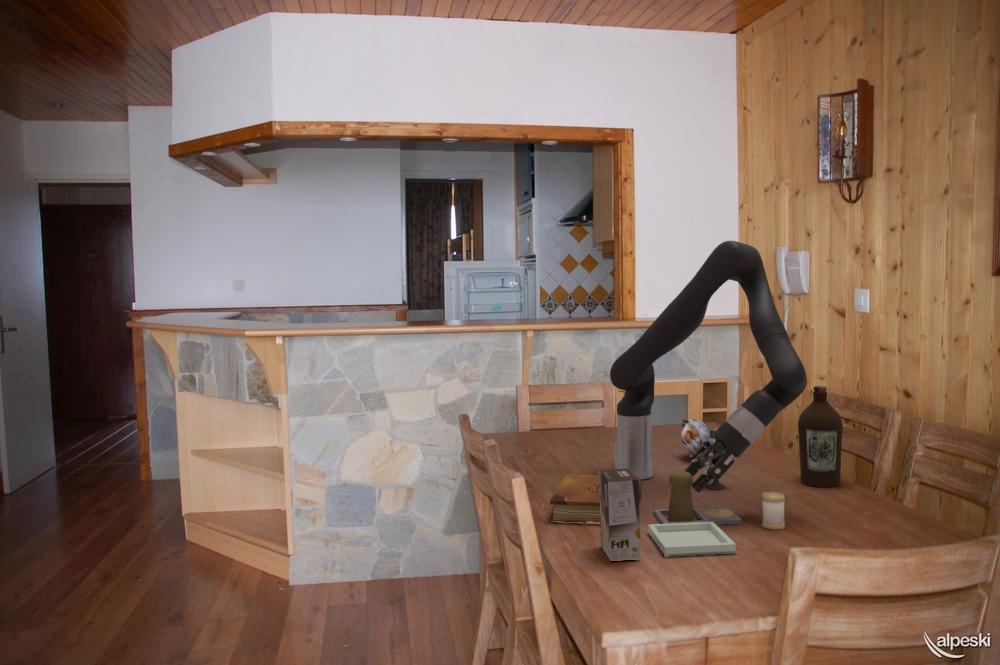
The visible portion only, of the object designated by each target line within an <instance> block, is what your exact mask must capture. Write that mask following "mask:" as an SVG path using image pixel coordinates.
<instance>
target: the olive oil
mask: <svg viewBox="0 0 1000 665" xmlns="http://www.w3.org/2000/svg"><path fill="white" fill-rule="evenodd" d="M827 389H828V388H827V386H823V385H816V386H815V385H814V386H813V392H812V402H811V403H810V404H809V405H807V406H806V408H804V410H803V411H801V414H800V415H799V417H798V421H797V429H798V445H799V447H798V448H799V449H798V450H799V467H800V468H799V470H800V473H799V474H800V483H802V484H804V485H805V484H806V485H805V486H809V485H810V486H809V487H814V486H816V487H815V488H835V487H834V486H836V487H839V486H840V485H841V469H842V468H841V467H842V464H841V463H842V444H843V430H844V429H843V428H844V424H843V420H842V417H841V415H840V413H838V411H837V410H836V409H835V408H834V407H833V406H832V405H831V404H830V403H829V402H828V391H827Z"/></svg>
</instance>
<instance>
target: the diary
mask: <svg viewBox="0 0 1000 665" xmlns="http://www.w3.org/2000/svg"><path fill="white" fill-rule="evenodd" d="M637 478H638V477H637ZM638 479H639V478H638ZM641 499H642V479H639V504H641V503H640V502H641ZM549 505H552V507H553V516H552V517H551V519H550V522H551V521H561V522H563V521H564V522H583V523H586V521H593V522H600V495H599V474H598V475H597V474H596V475H591V474H590V475H589V474H565V476H564V478H563V479H562V481H561V483H559V485H558V487H557V489H556V490H555V492H554V494H553V495H552V497H551V498H550V500H549Z"/></svg>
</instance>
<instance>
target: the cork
mask: <svg viewBox="0 0 1000 665" xmlns="http://www.w3.org/2000/svg"><path fill="white" fill-rule="evenodd" d="M693 480H694V477H692V475H691V474H690V473H689V472H686V471H685V470H675V471H672V472H670V474H669V475H668V484H670V486H671V489H670V497H669V506H668V509H669V512H668V515H667V521H668V522H669V521H670V522H680V521H696V515H695V514H694V509H693V508H694V504H693V496H692V491H691V489H692V488H691V487H692V486H691V485H692V484H693V483H694V481H693Z"/></svg>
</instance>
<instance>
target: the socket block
mask: <svg viewBox="0 0 1000 665" xmlns="http://www.w3.org/2000/svg"><path fill="white" fill-rule="evenodd" d="M693 509H694V515H695V518H697V519H700V520H695V521H680V522H669V521H668V519H666V518H665V516H668V512H669V508H665V509H663V508H662V509H653V515H654V514H655V515H654V516H655V517H656V519H657V518H658V519H659V520H658V519H657V520H658V521H659V523H660V524H661V523H662V524H672V523H693V522H714V523H715V524H716V525H717V526H721V525H722V524H728V525H742V519H741V518H740V517H739V516H738V515H737V514H736V513H734V512H733V510H731V508H729V507H725V506H724V507H723V506H721V507H704V508H702V507H701V508H700V507H699V508H697V507H693ZM722 526H723V525H722Z"/></svg>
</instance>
